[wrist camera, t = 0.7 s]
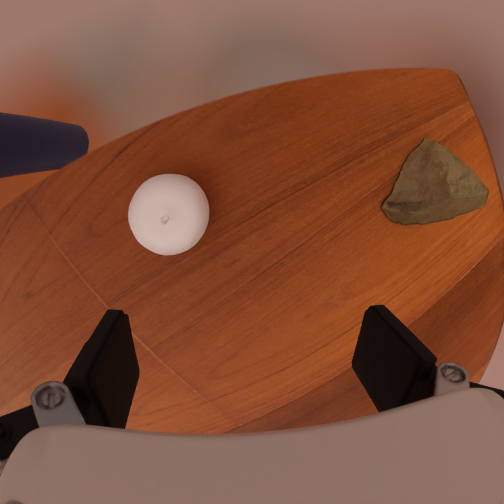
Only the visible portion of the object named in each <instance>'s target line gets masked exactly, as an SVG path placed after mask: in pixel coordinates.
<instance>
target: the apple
mask: <svg viewBox="0 0 504 504" xmlns="http://www.w3.org/2000/svg"><path fill="white" fill-rule="evenodd" d="M128 220H129V225H130V227H131V230H132V232H133V234H134V236H135V238H136V239H137V241H138V242H139V243H140V244H141V245H142V246H144V247H145V248H147V249H149V250H150V251H153V252H155V253H157V254H161V255H175V254H179V253H182V252H184V251H187V250H189V249H190V248H191V247H193V246H194V245H195V244H196V243H197V242H198V241H199V240H200V239H201V237H202V236H203V234H204V232H205V230H206V228H207V225H208V220H209V205H208V200H207V198H206V195H205V193H204V192H203V190H202V189H201V187H200V186H199V185H198V184H197V183H196V182H195V181H193V180H192V179H190V178H189V177H186V176H183V175H179V174H162V175H157V176H154V177H152V178H150V179H148V180H147V181H145V182H144V183H143V184H142V185H141V186H140V187H139V188H138V189H137V191H136V192H135V194H134V196H133V198H132V200H131V203H130V205H129V211H128Z"/></svg>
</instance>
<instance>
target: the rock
mask: <svg viewBox="0 0 504 504" xmlns="http://www.w3.org/2000/svg"><path fill="white" fill-rule="evenodd" d="M488 193H489V192H488V189H487V187H486V186H485V185H484V184H483V183H482V182H481V180H480V179H479V177H478V176H477V175H476V174H474V172H473V171H472V170H471V169H470V168H469V167H468V166H467V165H465V164H464V163H463V162H462V161H461V160H460V159H458V158H456V156H455V155H453V154H452V153H451V151H450V150H448V149H447V148H445V147H444V146H442V145H439V144H438V143H437V142H436V141H431V140H430V139H429V138H424V140H423V142H422V143H421V144H420V145H419V146H418V148H416V149H414V150H413V152H412V153H410V154H409V156H408V158H407V160H406V162H405V163H404V165H403V168H402V170H401V172H400V176H399V178H398V180H397V181H396V182H395V185H394V188H393V192H392V194H391V195H390V196H389V197H388V199H387V200H386V201H385V202H384V204H383V206H382V210H383V211H384V213H385V214H386V216H387V217H388V219H389V220H390V221H392V222H395V223H400V224H402V225H410V224H420V225H424V224H429V223H432V222H440V221H445V220H450V219H452V218H454V217H456V216H458V215H462V214H465V213H468V212H471V211H473V210H476V209H479V208H481V207H482V206H483V205H484V204H485V203H486V201H487V198H488Z"/></svg>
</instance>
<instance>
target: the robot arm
mask: <svg viewBox="0 0 504 504" xmlns="http://www.w3.org/2000/svg"><path fill="white" fill-rule="evenodd" d="M436 361H437V358H436V357H435V356H434V355H433V353H432V352H431V351H430V350H429V349H428V348H427V347H426V346H425V345H424V344H423V343H422V342H421V341H420V340H419V339H418V338H417V337H416V336H415V335H414V334H413V333H412V332H411V331H410V330H409V329H408V328H407V327H406V326H405V325H404V324H403V323H402V322H401V321H400V320H399V319H398V318H397V317H396V316H395V315H394V314H392V313H391V312H390V311H389V310H388V309H387V308H386V307H385V306H384V305H374V306H370V307H369V308H368V309H367V310H366V311H365V313H364V317H363V322H362V326H361V330H360V334H359V337H358V341H357V345H356V348H355V352H354V356H353V359H352V368H353V370H354V371H355V373H356V375H357V376H358V378H359V380H360V381H361V383H362V385H363V386H364V388H365V389H366V391H367V393H368V394H369V396H370V398H371V399H372V401H373V403H374V405H375V406H376V408H377V410H378V411H379V412H378V413H375V414H370V415H366V416H362V417H358V418H353V419H348V420H343V421H338V422H333V423H328V424H322V425H316V426H309V427H302V428H295V429H286V430H277V431H266V432H252V433H232V434H185V433H166V432H150V431H139V430H129V429H125V427H126V423H127V419H128V415H129V411H130V407H131V404H132V400H133V396H134V393H135V389H136V386H137V382H138V379H139V366H138V361H137V357H136V353H135V348H134V343H133V338H132V333H131V328H130V323H129V317H128V315H127V314H124V312H123V311H122V310H111V309H108V310H107V311H106V313H105V315H104V316H103V318H102V319H101V321H100V322H99V324H98V326H97V327H96V329H95V330H94V332H93V334H92V335H91V337H90V339H89V340H88V341H87V342H86V343H85V345H84V346H83V348H82V350H81V351H80V353H79V355H78V356H77V358H76V360H75V361H74V363H73V365H72V367H71V368H70V370H69V372H68V374H67V376H66V377H65V379H64V381H63V383H61V382H58V381H49V382H45V383H43V384H41V385H39V386H38V387H37V388H35V390H34V391H33V393H32V396H31V402H32V405H30V406H27V407H25V408H22V409H20V410H17V411H15V412H12V413H9V414H7V415H4V416H1V417H0V504H504V391H503V390H500V389H496V388H491V387H488V386H484V385H480V384H476V383H473V382H469V375H468V372H467V371H466V369H465V368H463V367H462V366H461V365H459V364H457V363H454V362H443V363H440V364H439V365H438V367H436V365H435V363H436Z"/></svg>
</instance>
